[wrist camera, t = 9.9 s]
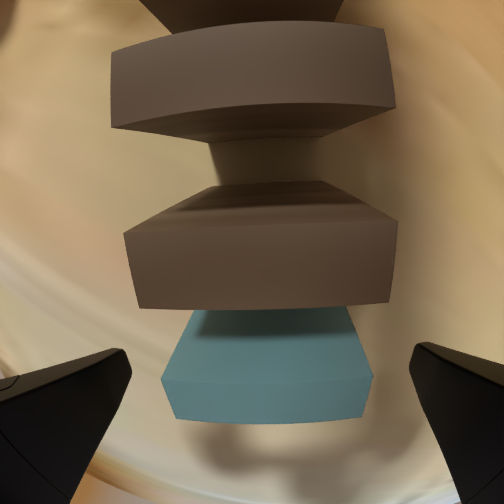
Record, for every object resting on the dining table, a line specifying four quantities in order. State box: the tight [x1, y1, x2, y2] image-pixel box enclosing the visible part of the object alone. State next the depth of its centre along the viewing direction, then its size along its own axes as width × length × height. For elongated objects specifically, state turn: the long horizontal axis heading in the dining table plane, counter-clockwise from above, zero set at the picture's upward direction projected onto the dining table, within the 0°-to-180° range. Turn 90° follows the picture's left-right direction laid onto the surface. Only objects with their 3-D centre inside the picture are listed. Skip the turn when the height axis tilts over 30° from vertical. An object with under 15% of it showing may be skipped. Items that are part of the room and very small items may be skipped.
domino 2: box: [111, 21, 396, 143], centre depth 8 cm, size 2×5×8 cm, turn 93°
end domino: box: [161, 306, 373, 424], centre depth 10 cm, size 2×5×8 cm, turn 94°
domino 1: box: [139, 0, 343, 34], centre depth 6 cm, size 2×5×8 cm, turn 94°
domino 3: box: [123, 181, 398, 310], centre depth 9 cm, size 2×5×8 cm, turn 93°
